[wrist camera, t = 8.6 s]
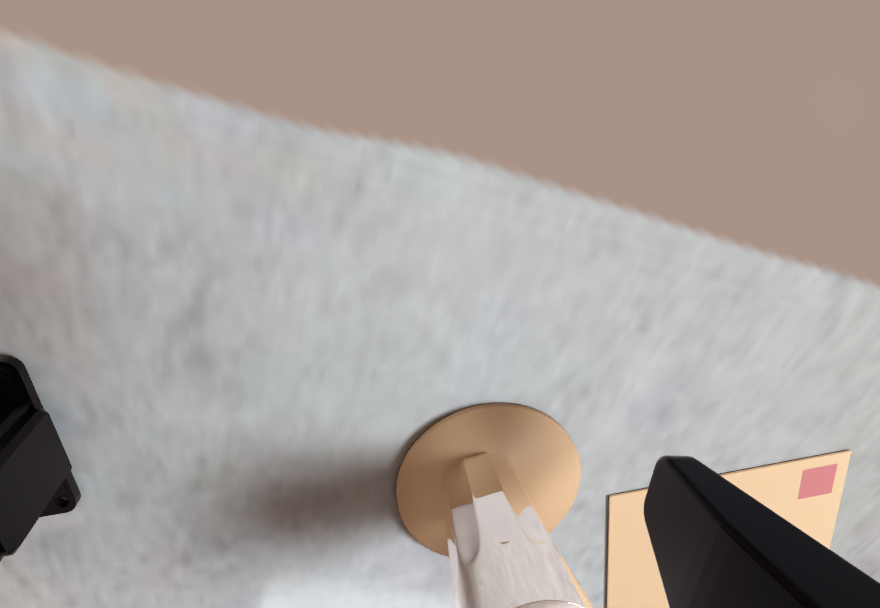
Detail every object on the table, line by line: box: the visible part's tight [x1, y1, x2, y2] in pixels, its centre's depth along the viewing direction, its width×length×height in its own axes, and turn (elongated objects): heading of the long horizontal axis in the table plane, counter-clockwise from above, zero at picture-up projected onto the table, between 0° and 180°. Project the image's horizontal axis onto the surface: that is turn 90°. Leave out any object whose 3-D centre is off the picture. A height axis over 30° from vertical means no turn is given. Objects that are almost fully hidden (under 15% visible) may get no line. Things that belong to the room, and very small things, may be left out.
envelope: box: [607, 450, 851, 608], centre depth 29 cm, size 12×9×1 cm
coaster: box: [396, 403, 581, 557], centre depth 25 cm, size 8×8×1 cm
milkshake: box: [442, 453, 593, 608], centre depth 20 cm, size 5×5×10 cm
